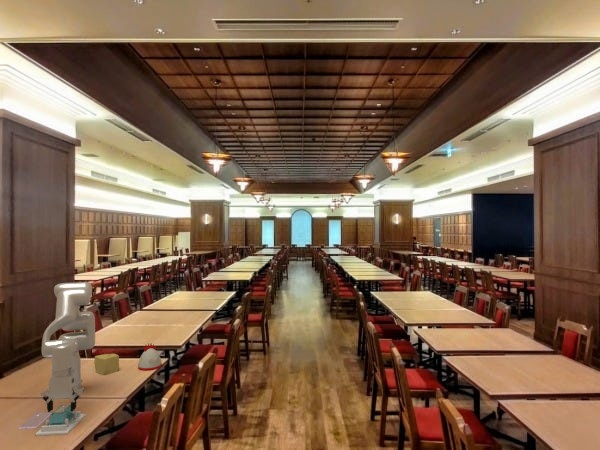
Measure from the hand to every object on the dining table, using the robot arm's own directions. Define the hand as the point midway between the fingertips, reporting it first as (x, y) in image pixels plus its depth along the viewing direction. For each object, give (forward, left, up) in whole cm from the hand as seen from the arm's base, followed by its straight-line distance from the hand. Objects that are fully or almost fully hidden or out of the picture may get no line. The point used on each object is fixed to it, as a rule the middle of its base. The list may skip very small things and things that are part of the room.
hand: (61, 410), depth 183 cm
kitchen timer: (-76, +17, -7) cm, 79 cm away
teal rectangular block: (0, 0, -5) cm, 5 cm away
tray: (+1, 0, -6) cm, 6 cm away
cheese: (-70, -7, -7) cm, 71 cm away
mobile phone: (-5, -14, -7) cm, 16 cm away
